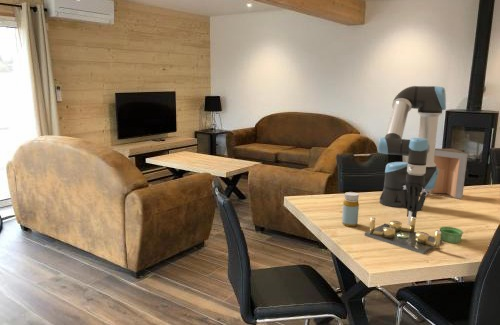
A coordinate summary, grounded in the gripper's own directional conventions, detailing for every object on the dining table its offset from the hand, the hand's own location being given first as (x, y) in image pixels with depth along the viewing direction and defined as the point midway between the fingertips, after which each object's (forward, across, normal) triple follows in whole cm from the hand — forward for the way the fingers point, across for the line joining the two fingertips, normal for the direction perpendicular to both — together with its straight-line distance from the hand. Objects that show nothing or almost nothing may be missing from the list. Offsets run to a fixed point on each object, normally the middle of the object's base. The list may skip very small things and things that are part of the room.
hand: (410, 224), depth 176 cm
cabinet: (+4, -30, +74) cm, 80 cm away
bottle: (+4, -20, -17) cm, 27 cm away
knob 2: (+2, -1, -5) cm, 5 cm away
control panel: (+3, +4, -10) cm, 11 cm away
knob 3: (+2, +14, -8) cm, 17 cm away
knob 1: (+2, -2, -17) cm, 17 cm away
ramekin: (+4, +14, +8) cm, 17 cm away
